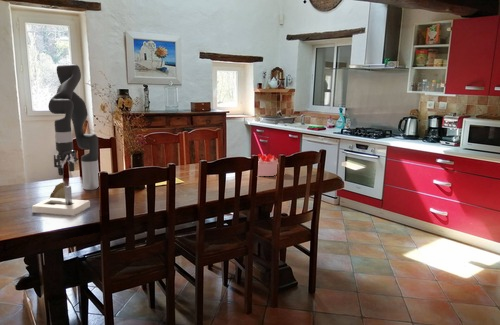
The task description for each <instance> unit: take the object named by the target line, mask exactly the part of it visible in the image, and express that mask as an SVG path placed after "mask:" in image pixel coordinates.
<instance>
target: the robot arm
mask: <svg viewBox="0 0 500 325" xmlns="http://www.w3.org/2000/svg"><path fill="white" fill-rule="evenodd" d="M56 75H57V78H58V81H59V83H60V84H59V86H58V88H57V90H56V93H55V95H54V96H52V97H51V99H50V100H49V102H48V105H47V106H48V110H49V112H50V113H51V114H55V115H65V116H64V117H61V118H57V119H55V120H54V139H55V150H56V152H58V154H54V155H53V164H54V165H53V167H54V168H57V173H58V175H59V176H64V175H65V173H64V165H65V164H66V163H67V162H68V168H69V172H74V171H75V164H76V163H77V161H78V159H77V152H76V150H75V149H74V142H73V133H72V127H73V129H74V135H75V140H76V144H77V146H78V148H79V149H81V150H89V151H88V152H87V153H85V154H83V155H81V157H80V158H81V159H80V162H81V172H82V173H81V174H82V189H83V190H87V191H91V190H97V188H98V173H99V174H100V171H99V170H100V169H99V137H98V136H97V134H95V133H85V131H84V124H85V121H86V120H87V117H88V108H87V105H86V102H85V101H84V99H83V98H81V96H80V95H78V94H77V93H76V92H75V89H76V88H77V86H78V85H79V83H80V82H81V81H80V80H81V79H82V78H81V77H82V72H81V69H80V66H79V65H78V64H73V63H72V64H71V63H70V64H69V63H68V64H61V65H60V64H58V65H57V66H56ZM71 122H72V123H71ZM98 189H99V188H98Z"/></svg>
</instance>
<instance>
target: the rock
mask: <svg viewBox="0 0 500 325" xmlns="http://www.w3.org/2000/svg"><path fill="white" fill-rule="evenodd" d="M66 186H67V183H66V182H60V183H58V184H57V185H55V187H54V188H53V190H52V192H51V193H50V196H49V198H61V199H65V189H64V187H66Z"/></svg>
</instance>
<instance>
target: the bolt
mask: <svg viewBox="0 0 500 325" xmlns="http://www.w3.org/2000/svg"><path fill="white" fill-rule="evenodd" d="M64 189H65V201H66V205H72V199H73V195H72V186H71V185H66V187H64Z"/></svg>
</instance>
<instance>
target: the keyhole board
mask: <svg viewBox="0 0 500 325" xmlns="http://www.w3.org/2000/svg"><path fill="white" fill-rule="evenodd" d="M31 206H32V207H31V210H32V211H31V212H32V214H39V215H40V214H41V215H51V216H52V215H54V216H66V217H76V216H77V215H79V214H81V213H82V212H84V211H86V210H88V209H89V208H91V202H90V200H87V199H86V200H83V199H73V198H72V205H66V201H65V199H61V198H50V197H49V198H47V199H44V200H42V201H40V202H38V203H36V204H34V205H31Z"/></svg>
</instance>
